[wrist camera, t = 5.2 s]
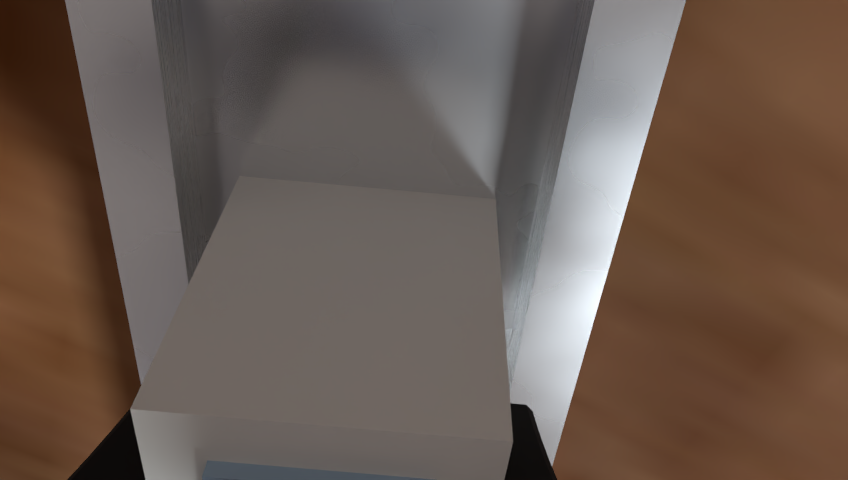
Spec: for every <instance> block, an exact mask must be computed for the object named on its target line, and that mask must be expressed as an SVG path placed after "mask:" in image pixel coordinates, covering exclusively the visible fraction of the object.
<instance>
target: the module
mask: <svg viewBox="0 0 848 480" xmlns="http://www.w3.org/2000/svg"><path fill="white" fill-rule="evenodd" d="M130 411H131V415H132V420H133V425H134V429H135V434H136V438H137V443H138V448H139V452H140V457H141V461H142V466H143V471H144V475H145V480H504V479H505V475H506V470H507V466H508V462H509V457H510V453H511V449H512V444H513V433H512V419H511V405H510V391H509V378H508V364H507V350H506V336H505V322H504V308H503V294H502V280H501V266H500V253H499V239H498V225H497V211H496V199H491V198H480V197H468V196H457V195H446V194H435V193H424V192H413V191H402V190H391V189H379V188H368V187H357V186H346V185H335V184H324V183H313V182H302V181H290V180H279V179H268V178H257V177H246V176H239V178H238V180H237V182H236V184H235V186H234V188H233V191H232V193H231V195H230V197H229V199H228V201H227V203H226V206H225V208H224V210H223V212H222V214H221V216H220V218H219V220H218V223H217V225H216V227H215V229H214V231H213V233H212V235H211V238H210V240H209V242H208V244H207V246H206V248H205V250H204V253H203V255H202V257H201V259H200V261H199V263H198V265H197V267H196V270H195V272H194V274H193V276H192V278H191V280H190V282H189V285H188V287H187V289H186V291H185V293H184V295H183V297H182V299H181V302H180V304H179V306H178V308H177V310H176V312H175V314H174V317H173V319H172V321H171V323H170V325H169V327H168V329H167V331H166V334H165V336H164V338H163V340H162V342H161V344H160V346H159V349H158V351H157V353H156V355H155V357H154V359H153V361H152V364H151V366H150V368H149V370H148V372H147V374H146V376H145V378H144V381H143V383H142V385H141V387H140V389H139V391H138V393H137V396H136V398H135V400H134V402H133V404H132V406H131V408H130Z"/></svg>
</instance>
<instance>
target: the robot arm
mask: <svg viewBox="0 0 848 480" xmlns="http://www.w3.org/2000/svg"><path fill="white" fill-rule="evenodd" d="M510 405H511V419H512V433H513V444H512V449H511V453H510V457H509V462H508V466H507V470H506V475H505V479H504V480H557V478H556V476H555V473H554V471H553V468H552V466H551V463H550V461H549V458H548V455H547V453H546V450H545V447H544V444H543V442H542V439H541V436H540V433H539V430H538V427H537V424H536V421H535V417H534V414H533V411H532V410H531V409H530V408H529V407H528V406H527V405H524V404H512V403H510ZM68 480H145V475H144V471H143V466H142V461H141V457H140V452H139V448H138V443H137V438H136V434H135V429H134V425H133V420H132V415H131V411H130V409H129V411H128V412H127V413H126V414H125V415H124V416H123V418H122V419H121V420H120V421H119V422H118V424H117V425H116V426H115V427H114V428H113V429H112V431H111V432H110V433H109V434H108V435H107V436H106V437H105V439H104V440H103V441H102V442H101V443H100V444H99V445H98V447H97V448H96V449H95V450H94V451H93V452H92V453H91V454H90V456H89V457H88V458H87V459H86V460H85V461H84V462H83V463H82V464H81V465H80V467H79V468H78V469H77V470H76V471H75V472H74V473H73V474H72V475H71V476H70V477H69V478H68Z"/></svg>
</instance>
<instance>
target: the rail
mask: <svg viewBox="0 0 848 480" xmlns="http://www.w3.org/2000/svg"><path fill="white" fill-rule="evenodd" d="M685 2H686V0H65V3H66V8H67V13H68V18H69V23H70V28H71V33H72V38H73V43H74V48H75V53H76V58H77V63H78V68H79V74H80V79H81V84H82V89H83V94H84V99H85V104H86V109H87V114H88V119H89V124H90V129H91V134H92V139H93V144H94V149H95V154H96V159H97V165H98V170H99V175H100V180H101V185H102V190H103V195H104V200H105V205H106V210H107V215H108V220H109V225H110V230H111V235H112V240H113V245H114V250H115V255H116V261H117V266H118V271H119V276H120V281H121V286H122V291H123V296H124V301H125V306H126V311H127V316H128V321H129V326H130V331H131V336H132V341H133V346H134V352H135V357H136V362H137V367H138V372H139V377H140V382H141V385H142V383H143V381H144V378H145V376H146V374H147V372H148V370H149V368H150V366H151V364H152V361H153V359H154V357H155V355H156V353H157V351H158V349H159V346H160V344H161V342H162V340H163V338H164V336H165V334H166V331H167V329H168V327H169V325H170V323H171V321H172V319H173V317H174V314H175V312H176V310H177V308H178V306H179V304H180V302H181V299H182V297H183V295H184V293H185V291H186V289H187V287H188V285H189V282H190V280H191V278H192V276H193V274H194V272H195V270H196V267H197V265H198V263H199V261H200V259H201V257H202V255H203V253H204V250H205V248H206V246H207V244H208V242H209V240H210V238H211V235H212V233H213V231H214V229H215V227H216V225H217V223H218V220H219V218H220V216H221V214H222V212H223V210H224V208H225V206H226V203H227V201H228V199H229V197H230V195H231V193H232V191H233V188H234V186H235V184H236V182H237V180H238V178H239V176H246V177H257V178H268V179H279V180H290V181H302V182H313V183H324V184H335V185H346V186H357V187H368V188H379V189H391V190H402V191H413V192H424V193H435V194H446V195H457V196H468V197H480V198H491V199H496V211H497V225H498V239H499V253H500V266H501V280H502V294H503V308H504V322H505V336H506V350H507V364H508V378H509V391H510V403H512V404H524V405H527V406H528V407H529V408H530V409H531V410H532V411H533V414H534V417H535V421H536V424H537V427H538V430H539V433H540V436H541V439H542V442H543V444H544V447H545V450H546V453H547V455H548V458H549V461H550V463H551V466H552V465H553V461H554V458H555V454H556V451H557V447H558V444H559V440H560V437H561V433H562V430H563V426H564V423H565V419H566V416H567V412H568V409H569V405H570V402H571V399H572V395H573V392H574V388H575V385H576V381H577V378H578V374H579V371H580V367H581V364H582V360H583V357H584V353H585V350H586V346H587V343H588V339H589V336H590V332H591V329H592V325H593V322H594V318H595V315H596V311H597V308H598V305H599V301H600V298H601V294H602V291H603V287H604V284H605V280H606V277H607V273H608V270H609V266H610V263H611V259H612V256H613V252H614V249H615V245H616V242H617V238H618V235H619V231H620V228H621V224H622V221H623V217H624V214H625V211H626V207H627V204H628V200H629V197H630V193H631V190H632V186H633V183H634V179H635V176H636V172H637V169H638V165H639V162H640V158H641V155H642V151H643V148H644V144H645V141H646V137H647V134H648V130H649V127H650V123H651V120H652V116H653V113H654V110H655V106H656V103H657V99H658V96H659V92H660V89H661V85H662V82H663V78H664V75H665V71H666V68H667V64H668V61H669V57H670V54H671V50H672V47H673V43H674V40H675V36H676V33H677V29H678V26H679V22H680V19H681V16H682V12H683V9H684V5H685Z"/></svg>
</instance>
